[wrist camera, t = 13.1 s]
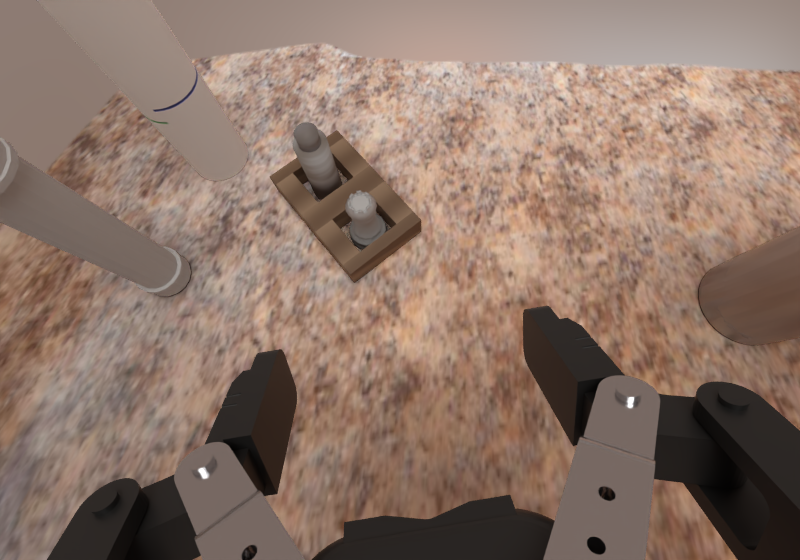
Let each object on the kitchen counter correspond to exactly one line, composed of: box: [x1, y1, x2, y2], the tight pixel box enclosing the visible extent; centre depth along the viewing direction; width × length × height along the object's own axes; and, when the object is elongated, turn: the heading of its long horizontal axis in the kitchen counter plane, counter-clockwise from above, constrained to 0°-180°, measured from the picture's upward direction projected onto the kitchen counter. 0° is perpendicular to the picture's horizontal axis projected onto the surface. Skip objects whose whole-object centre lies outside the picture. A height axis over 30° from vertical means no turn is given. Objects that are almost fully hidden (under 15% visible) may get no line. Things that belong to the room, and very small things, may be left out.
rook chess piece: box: [345, 190, 387, 249], centre depth 44 cm, size 4×4×8 cm
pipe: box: [0, 138, 191, 296], centre depth 33 cm, size 6×6×30 cm
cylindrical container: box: [37, 0, 248, 181], centre depth 40 cm, size 7×7×25 cm
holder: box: [270, 123, 421, 283], centre depth 44 cm, size 16×10×11 cm, turn 39°
